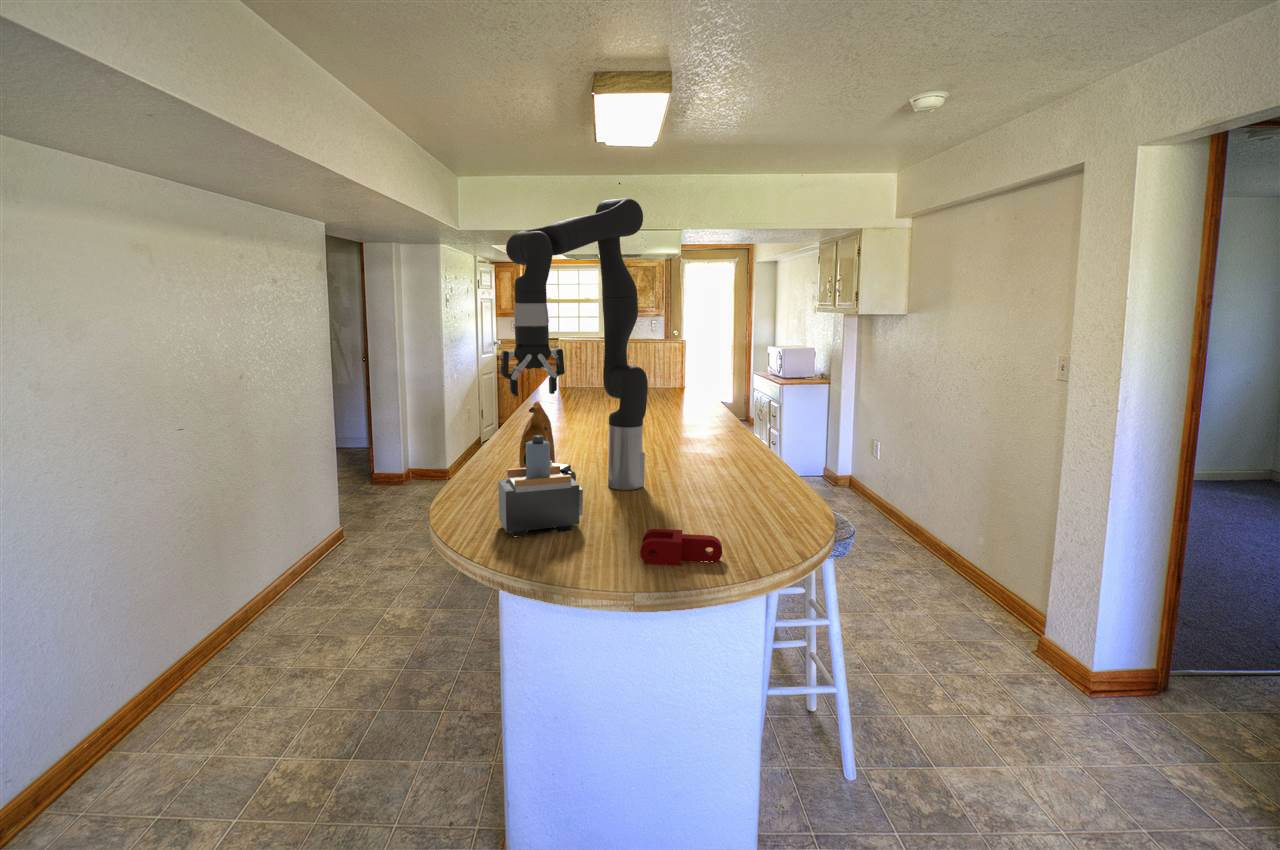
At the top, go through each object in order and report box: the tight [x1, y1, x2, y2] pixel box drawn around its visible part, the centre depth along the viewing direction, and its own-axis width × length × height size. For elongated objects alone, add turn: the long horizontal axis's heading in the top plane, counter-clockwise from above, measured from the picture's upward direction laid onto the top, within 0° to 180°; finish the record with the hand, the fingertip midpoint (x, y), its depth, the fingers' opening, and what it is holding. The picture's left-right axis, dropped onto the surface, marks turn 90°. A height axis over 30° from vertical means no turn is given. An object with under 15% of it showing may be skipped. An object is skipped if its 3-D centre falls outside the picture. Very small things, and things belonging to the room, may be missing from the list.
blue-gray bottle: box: [526, 435, 550, 478], centre depth 143 cm, size 5×5×10 cm
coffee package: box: [518, 401, 556, 468], centre depth 181 cm, size 10×12×22 cm
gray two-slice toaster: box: [497, 465, 584, 538], centre depth 145 cm, size 17×10×13 cm, turn 112°
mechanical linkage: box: [639, 528, 723, 567], centre depth 130 cm, size 16×7×5 cm, turn 85°
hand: (533, 394), depth 151 cm, fingers open, 8 cm apart
